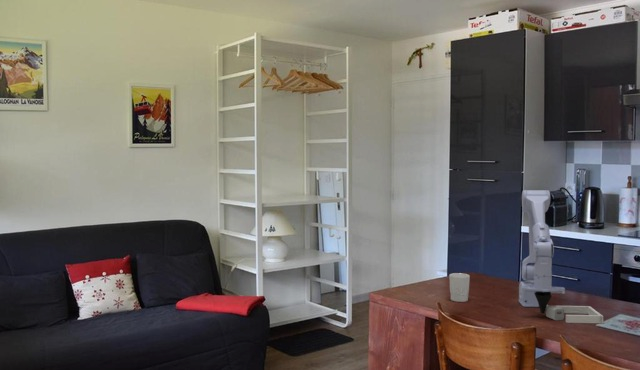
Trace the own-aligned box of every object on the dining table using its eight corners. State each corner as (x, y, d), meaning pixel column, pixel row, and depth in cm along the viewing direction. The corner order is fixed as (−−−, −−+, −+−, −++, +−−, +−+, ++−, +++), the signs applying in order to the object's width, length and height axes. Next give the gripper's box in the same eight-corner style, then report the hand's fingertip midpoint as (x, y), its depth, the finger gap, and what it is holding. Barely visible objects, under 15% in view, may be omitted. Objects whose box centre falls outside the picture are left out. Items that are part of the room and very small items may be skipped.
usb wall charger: (554, 320, 199) (554, 309, 199) (541, 315, 206) (541, 304, 206) (563, 319, 201) (564, 308, 200) (550, 314, 207) (550, 303, 207)
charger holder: (566, 322, 197) (566, 315, 197) (555, 312, 210) (555, 305, 210) (603, 323, 196) (603, 316, 196) (589, 313, 209) (590, 306, 208)
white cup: (457, 303, 224) (457, 277, 224) (445, 298, 231) (445, 274, 231) (473, 301, 227) (473, 276, 227) (461, 296, 234) (461, 272, 234)
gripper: (524, 277, 200) (523, 315, 201) (567, 277, 199) (567, 316, 199) (519, 273, 207) (519, 310, 208) (561, 273, 206) (561, 311, 206)
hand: (542, 312), depth 204 cm, fingers closed
